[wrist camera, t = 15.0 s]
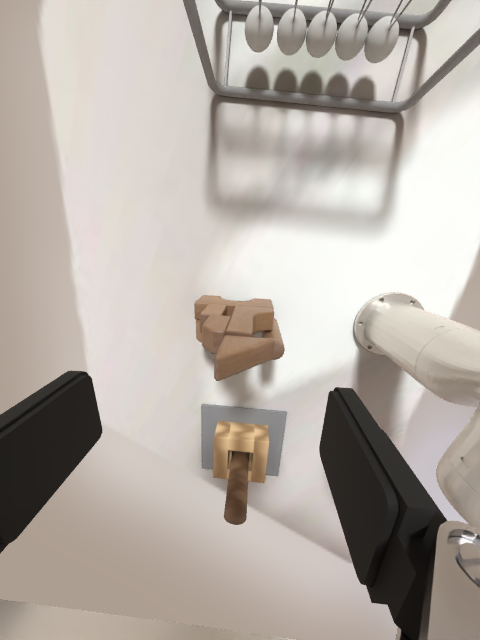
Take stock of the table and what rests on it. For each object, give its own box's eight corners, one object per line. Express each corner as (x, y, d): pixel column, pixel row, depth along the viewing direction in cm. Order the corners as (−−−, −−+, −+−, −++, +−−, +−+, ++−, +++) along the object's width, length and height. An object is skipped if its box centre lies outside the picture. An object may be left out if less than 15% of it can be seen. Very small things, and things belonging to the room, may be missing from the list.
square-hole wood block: (267, 425, 52) (269, 442, 48) (263, 463, 56) (264, 483, 51) (217, 420, 53) (214, 437, 48) (217, 458, 57) (213, 477, 52)
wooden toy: (202, 326, 46) (146, 406, 23) (202, 294, 44) (140, 347, 21) (276, 331, 46) (297, 420, 22) (280, 299, 44) (307, 360, 20)
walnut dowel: (249, 437, 54) (246, 510, 39) (248, 449, 55) (245, 525, 40) (233, 435, 54) (224, 508, 39) (232, 447, 55) (223, 523, 40)
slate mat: (286, 411, 51) (286, 413, 51) (277, 474, 58) (277, 476, 57) (201, 403, 53) (201, 405, 52) (202, 466, 59) (201, 468, 58)
